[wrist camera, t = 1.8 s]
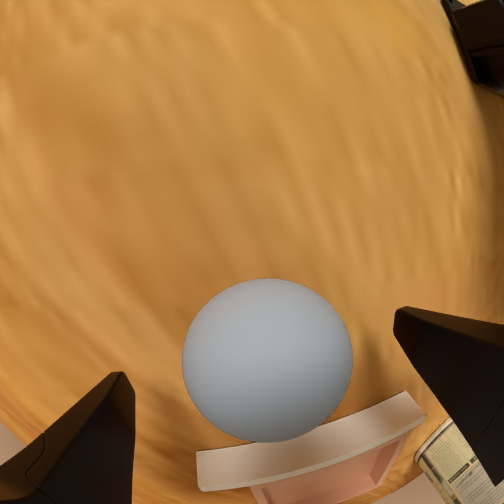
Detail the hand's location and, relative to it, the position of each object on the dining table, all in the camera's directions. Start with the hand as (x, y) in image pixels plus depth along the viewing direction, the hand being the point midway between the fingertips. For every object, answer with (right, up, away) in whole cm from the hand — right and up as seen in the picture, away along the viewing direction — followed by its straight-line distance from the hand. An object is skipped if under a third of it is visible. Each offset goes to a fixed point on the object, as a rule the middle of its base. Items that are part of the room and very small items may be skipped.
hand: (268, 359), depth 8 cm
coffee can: (+21, -17, +11) cm, 29 cm away
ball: (0, +1, +2) cm, 3 cm away
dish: (+5, -13, +7) cm, 16 cm away
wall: (+3, -7, +5) cm, 9 cm away
